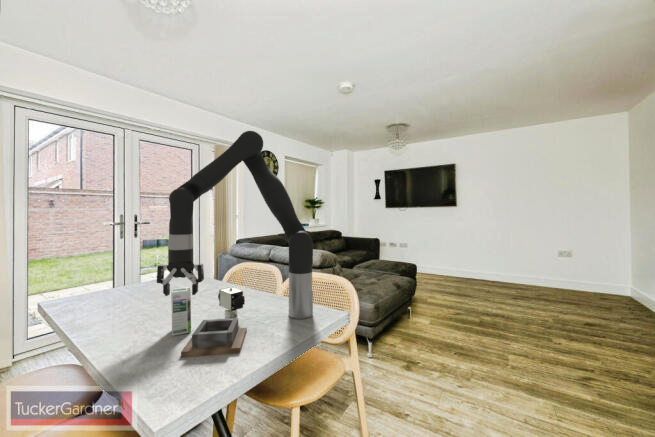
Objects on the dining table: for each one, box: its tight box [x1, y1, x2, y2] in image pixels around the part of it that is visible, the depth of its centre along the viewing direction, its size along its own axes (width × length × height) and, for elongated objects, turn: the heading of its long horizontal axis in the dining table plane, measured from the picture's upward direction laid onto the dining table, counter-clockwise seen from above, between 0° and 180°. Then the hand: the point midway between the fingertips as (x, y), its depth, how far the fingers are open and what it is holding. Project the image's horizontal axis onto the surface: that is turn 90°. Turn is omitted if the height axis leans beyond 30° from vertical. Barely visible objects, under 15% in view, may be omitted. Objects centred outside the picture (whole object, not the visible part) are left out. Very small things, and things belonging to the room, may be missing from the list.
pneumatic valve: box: [217, 286, 246, 319], centre depth 105 cm, size 6×12×12 cm, turn 50°
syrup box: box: [170, 286, 192, 337], centre depth 94 cm, size 6×6×14 cm
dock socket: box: [180, 317, 248, 358], centre depth 85 cm, size 16×14×6 cm
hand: (180, 294), depth 94 cm, fingers open, 8 cm apart
